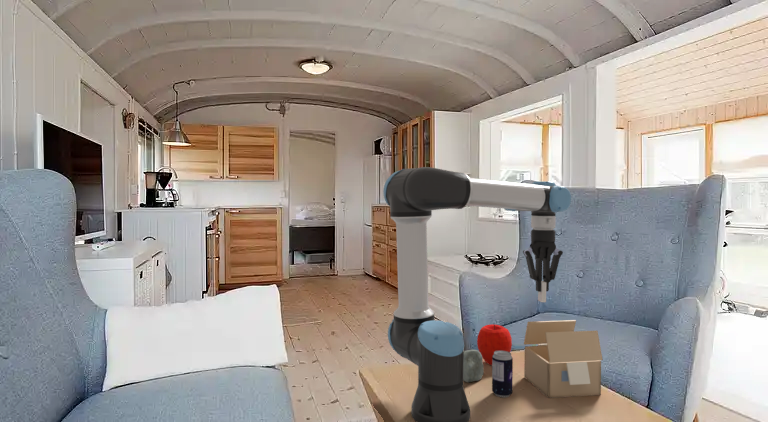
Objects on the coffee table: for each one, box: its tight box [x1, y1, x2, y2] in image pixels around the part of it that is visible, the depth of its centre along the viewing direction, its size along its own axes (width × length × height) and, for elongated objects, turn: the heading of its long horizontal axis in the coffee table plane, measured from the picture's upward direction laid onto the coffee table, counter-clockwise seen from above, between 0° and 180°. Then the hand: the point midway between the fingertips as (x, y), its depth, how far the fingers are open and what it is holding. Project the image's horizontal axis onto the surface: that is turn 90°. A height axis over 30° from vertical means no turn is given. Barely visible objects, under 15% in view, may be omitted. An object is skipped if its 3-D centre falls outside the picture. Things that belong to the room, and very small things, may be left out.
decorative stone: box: [463, 349, 485, 383], centre depth 153 cm, size 13×11×10 cm
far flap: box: [523, 319, 577, 346], centre depth 154 cm, size 16×14×1 cm
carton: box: [523, 345, 602, 399], centre depth 146 cm, size 16×16×10 cm
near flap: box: [545, 330, 603, 385], centre depth 137 cm, size 16×14×1 cm
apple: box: [476, 324, 513, 366], centre depth 165 cm, size 12×12×13 cm
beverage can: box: [491, 351, 514, 398], centre depth 139 cm, size 6×6×12 cm
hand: (542, 301), depth 158 cm, fingers closed
